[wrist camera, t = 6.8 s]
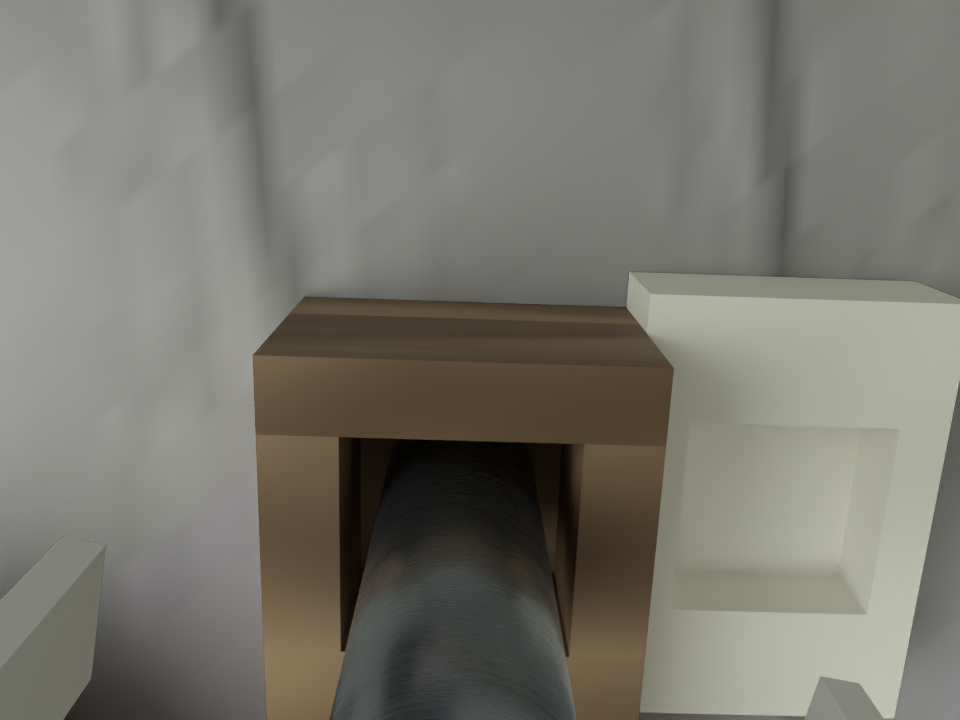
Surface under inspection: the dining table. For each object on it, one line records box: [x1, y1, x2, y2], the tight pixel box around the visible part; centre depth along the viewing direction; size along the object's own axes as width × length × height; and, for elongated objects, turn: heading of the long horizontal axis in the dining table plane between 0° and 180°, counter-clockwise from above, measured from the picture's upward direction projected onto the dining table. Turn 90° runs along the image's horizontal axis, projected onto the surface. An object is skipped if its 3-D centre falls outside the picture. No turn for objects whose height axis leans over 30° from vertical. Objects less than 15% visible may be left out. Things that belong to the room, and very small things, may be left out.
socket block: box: [253, 297, 674, 720], centre depth 24 cm, size 18×9×6 cm, turn 178°
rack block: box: [626, 272, 960, 718], centre depth 25 cm, size 12×8×3 cm, turn 178°
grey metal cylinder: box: [329, 439, 577, 720], centre depth 16 cm, size 4×4×17 cm
